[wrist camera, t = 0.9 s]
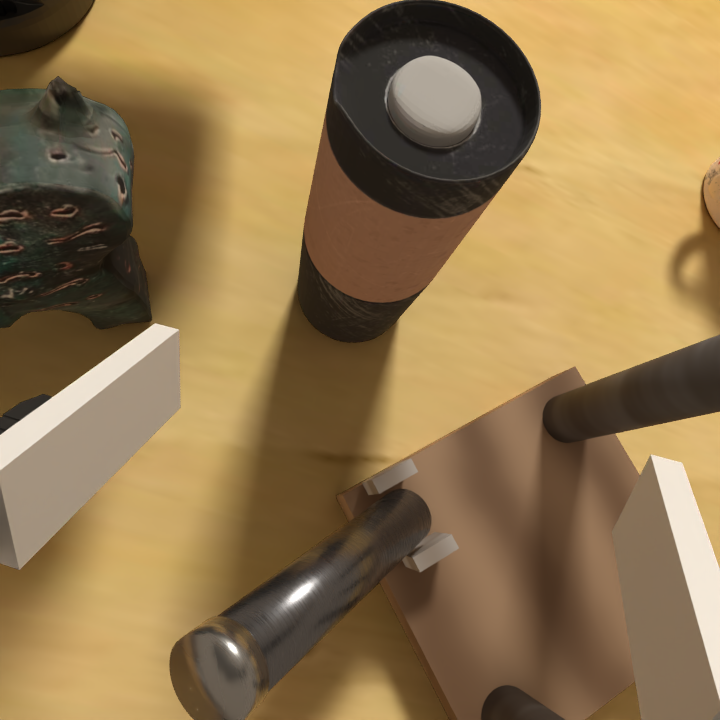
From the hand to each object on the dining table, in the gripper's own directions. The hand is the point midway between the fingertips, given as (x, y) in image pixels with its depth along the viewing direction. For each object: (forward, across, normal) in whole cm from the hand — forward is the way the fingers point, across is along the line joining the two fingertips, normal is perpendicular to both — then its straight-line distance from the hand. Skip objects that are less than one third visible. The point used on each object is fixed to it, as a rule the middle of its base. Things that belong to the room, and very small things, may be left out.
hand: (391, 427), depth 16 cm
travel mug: (+22, -7, -6) cm, 24 cm away
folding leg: (+11, +1, -13) cm, 17 cm away
